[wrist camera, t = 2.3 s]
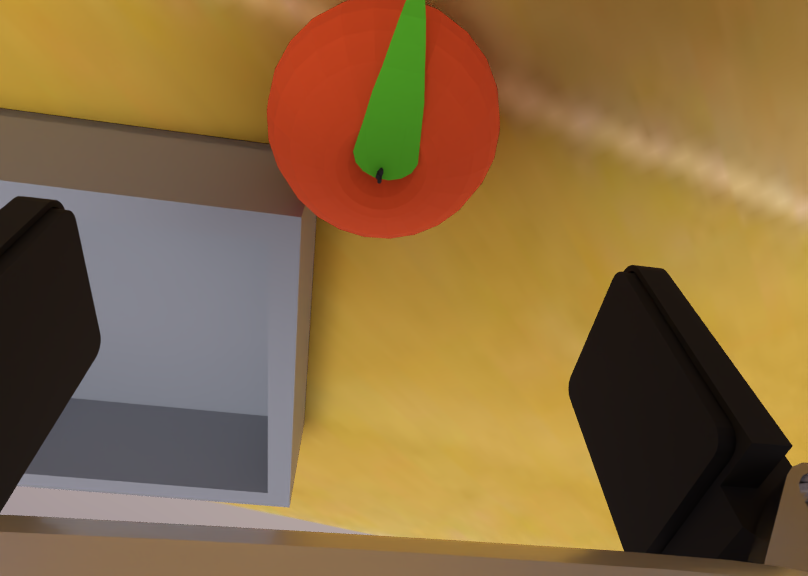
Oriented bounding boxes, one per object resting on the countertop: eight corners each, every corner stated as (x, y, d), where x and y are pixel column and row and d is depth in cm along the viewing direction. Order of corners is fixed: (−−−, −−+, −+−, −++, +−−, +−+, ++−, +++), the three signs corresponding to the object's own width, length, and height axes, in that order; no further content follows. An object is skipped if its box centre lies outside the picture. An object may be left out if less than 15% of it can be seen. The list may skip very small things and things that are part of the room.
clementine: (301, -90, 17) (250, -66, 11) (524, -33, 18) (582, 16, 12) (278, 158, 21) (234, 264, 16) (455, 193, 22) (474, 305, 17)
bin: (320, 150, 21) (301, 217, 17) (304, 422, 30) (289, 507, 26) (-126, 91, 20) (-259, 148, 16) (-2, 394, 29) (-66, 479, 25)
